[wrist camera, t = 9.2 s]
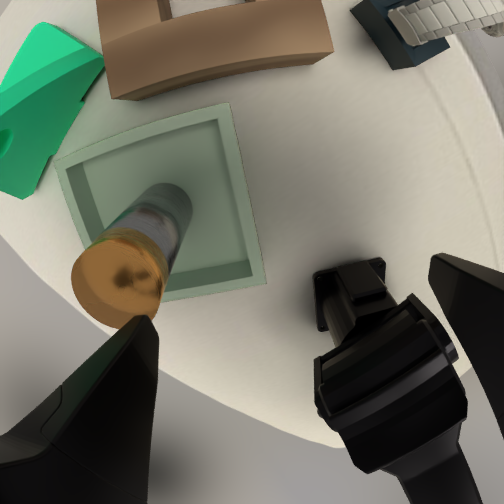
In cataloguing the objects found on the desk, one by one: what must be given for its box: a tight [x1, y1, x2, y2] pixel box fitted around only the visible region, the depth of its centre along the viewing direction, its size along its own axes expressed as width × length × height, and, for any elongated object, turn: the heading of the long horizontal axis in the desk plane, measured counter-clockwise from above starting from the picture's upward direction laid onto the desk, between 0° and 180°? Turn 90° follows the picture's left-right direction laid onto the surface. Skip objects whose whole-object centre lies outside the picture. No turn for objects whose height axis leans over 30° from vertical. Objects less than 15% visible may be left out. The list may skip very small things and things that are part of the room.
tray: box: [54, 102, 267, 303], centre depth 19 cm, size 12×12×3 cm
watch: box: [350, 0, 504, 70], centre depth 9 cm, size 6×8×11 cm
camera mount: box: [0, 22, 105, 200], centre depth 11 cm, size 12×8×10 cm, turn 138°
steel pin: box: [71, 183, 193, 329], centre depth 15 cm, size 4×4×10 cm
